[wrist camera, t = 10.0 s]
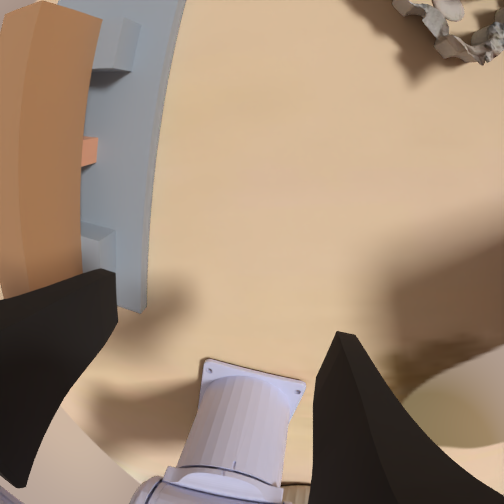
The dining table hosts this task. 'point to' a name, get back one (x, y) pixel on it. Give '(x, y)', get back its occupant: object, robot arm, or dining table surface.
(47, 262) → the brown bar
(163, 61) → the display stand
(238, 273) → the dining table surface
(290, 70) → the dining table surface
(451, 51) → the stone castle ruin
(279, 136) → the dining table surface
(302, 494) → the canister
